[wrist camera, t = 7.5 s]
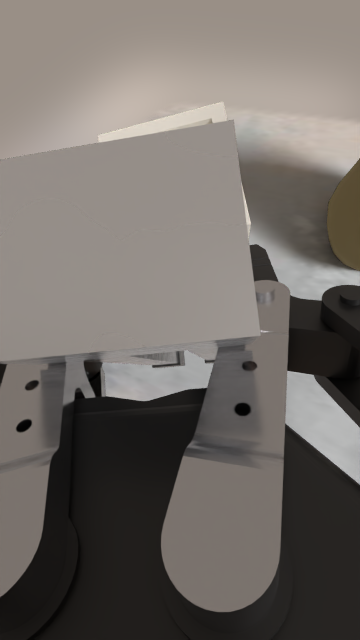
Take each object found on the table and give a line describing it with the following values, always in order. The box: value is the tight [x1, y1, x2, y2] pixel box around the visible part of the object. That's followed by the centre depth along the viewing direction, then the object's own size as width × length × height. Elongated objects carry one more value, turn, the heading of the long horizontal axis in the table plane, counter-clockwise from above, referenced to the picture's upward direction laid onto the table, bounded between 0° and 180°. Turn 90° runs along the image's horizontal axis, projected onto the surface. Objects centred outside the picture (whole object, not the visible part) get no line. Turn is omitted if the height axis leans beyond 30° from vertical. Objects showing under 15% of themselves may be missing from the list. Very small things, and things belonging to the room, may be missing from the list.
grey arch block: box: [0, 120, 261, 368], centre depth 12 cm, size 4×3×14 cm
